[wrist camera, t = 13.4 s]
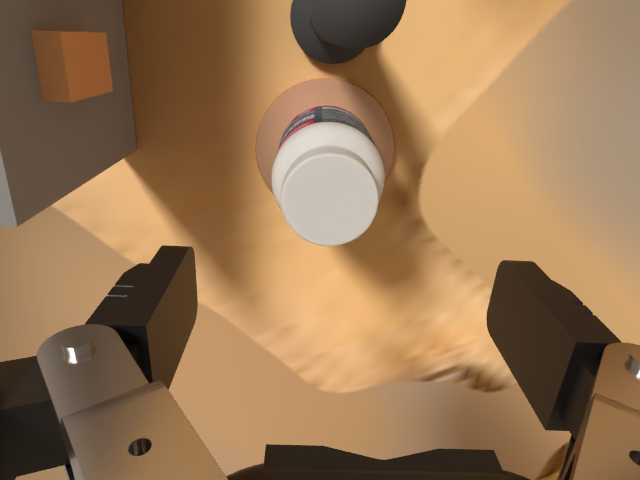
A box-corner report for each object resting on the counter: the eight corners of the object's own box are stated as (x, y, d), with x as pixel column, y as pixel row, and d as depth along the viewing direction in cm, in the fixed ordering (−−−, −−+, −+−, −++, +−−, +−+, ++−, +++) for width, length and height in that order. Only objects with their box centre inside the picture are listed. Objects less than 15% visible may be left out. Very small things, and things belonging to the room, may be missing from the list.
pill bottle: (304, 86, 25) (301, 109, 17) (387, 130, 26) (421, 172, 18) (264, 170, 27) (244, 227, 19) (343, 208, 28) (355, 278, 20)
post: (292, -33, 23) (271, -119, 11) (379, -28, 24) (461, -105, 11) (289, 60, 25) (268, 84, 12) (370, 65, 25) (432, 93, 12)
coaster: (256, 74, 25) (255, 74, 25) (401, 82, 26) (402, 83, 25) (256, 211, 29) (255, 213, 28) (385, 217, 29) (386, 219, 29)
